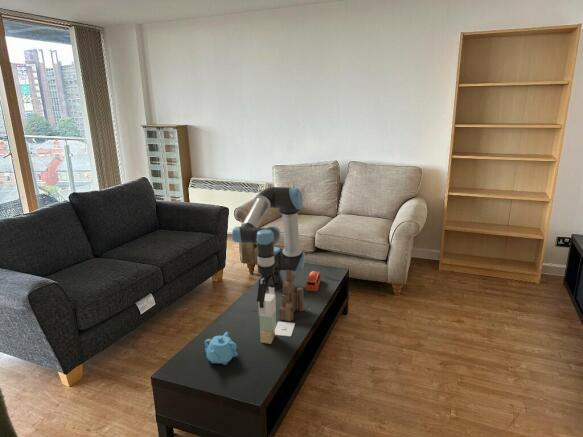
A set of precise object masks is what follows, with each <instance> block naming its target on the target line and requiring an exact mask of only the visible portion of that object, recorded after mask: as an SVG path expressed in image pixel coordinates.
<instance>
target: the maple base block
mask: <svg viewBox="0 0 583 437" xmlns="http://www.w3.org/2000/svg"><path fill="white" fill-rule="evenodd" d="M275 328H276V326H275V327H274V329H273V331H265V330H259V335H260V337H259V338H260V343H264V344H272V342H273V341H274V338H275V336H276V335H275Z"/></svg>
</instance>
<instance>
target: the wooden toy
mask: <svg viewBox="0 0 583 437" xmlns="http://www.w3.org/2000/svg"><path fill="white" fill-rule="evenodd" d="M285 272H286V274H285V275H286V277H285V278H286V280H284V284H283V286H282V294H281V306H280V307H279V308H278V311H279V314H278V316H279V320H280V321H283V322H289V323H292V321H293V320H294V313H295V312H296V311H299V312H303V311H304V288H303V287H297V291H296V292H297V293H295V279H296V278H297V276H296V275H295V274H294V273H293V271H288V270H287V271H286V270H285Z"/></svg>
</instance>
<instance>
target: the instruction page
mask: <svg viewBox="0 0 583 437" xmlns="http://www.w3.org/2000/svg"><path fill="white" fill-rule="evenodd" d="M295 325H296V323H295V322H288V321H277V322H276V326H275V336H281V337H282V336H283V337H292V334H293V332H294V330H295Z"/></svg>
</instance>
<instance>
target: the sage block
mask: <svg viewBox="0 0 583 437" xmlns="http://www.w3.org/2000/svg"><path fill="white" fill-rule="evenodd" d="M276 312H277V309H276V310H275V312H274V314H273V315H272V317H266V316H259V331H261V330H265V331H273V329H274V327H275V328H276V325H277V314H276Z"/></svg>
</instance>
